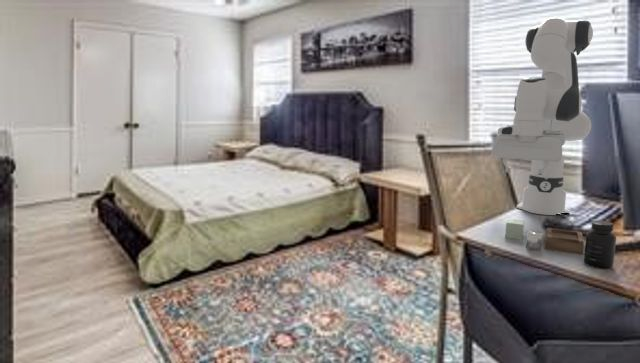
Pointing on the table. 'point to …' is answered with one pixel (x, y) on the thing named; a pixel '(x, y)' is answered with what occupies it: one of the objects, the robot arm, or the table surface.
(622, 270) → the table surface
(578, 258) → the table surface
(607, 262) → the supplement bottle
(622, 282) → the table surface
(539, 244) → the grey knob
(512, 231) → the sage cube
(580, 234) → the walnut base
